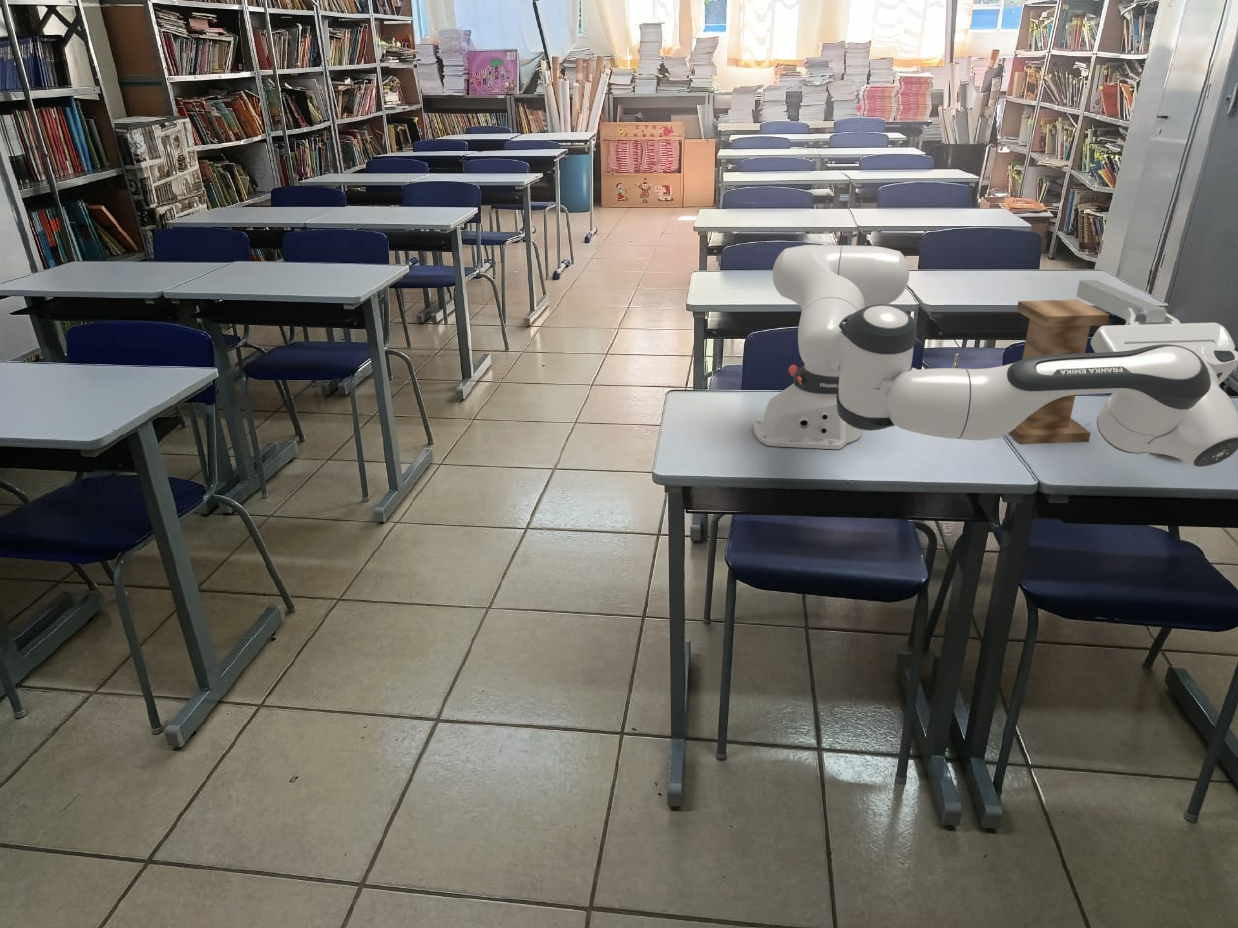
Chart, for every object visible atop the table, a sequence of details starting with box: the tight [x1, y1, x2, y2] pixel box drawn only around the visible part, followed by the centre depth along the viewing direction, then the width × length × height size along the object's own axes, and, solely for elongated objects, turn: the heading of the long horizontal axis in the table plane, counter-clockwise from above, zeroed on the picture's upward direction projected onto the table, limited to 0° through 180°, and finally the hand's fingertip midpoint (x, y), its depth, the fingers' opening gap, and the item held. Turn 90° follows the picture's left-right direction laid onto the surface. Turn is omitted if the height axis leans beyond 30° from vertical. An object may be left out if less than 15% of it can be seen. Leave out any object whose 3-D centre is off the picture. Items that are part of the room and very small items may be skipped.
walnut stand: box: [1007, 299, 1110, 445], centre depth 169 cm, size 14×14×26 cm
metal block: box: [1075, 279, 1168, 325], centre depth 145 cm, size 3×22×3 cm, turn 0°
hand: (1142, 310), depth 138 cm, fingers closed on metal block, 3 cm apart
